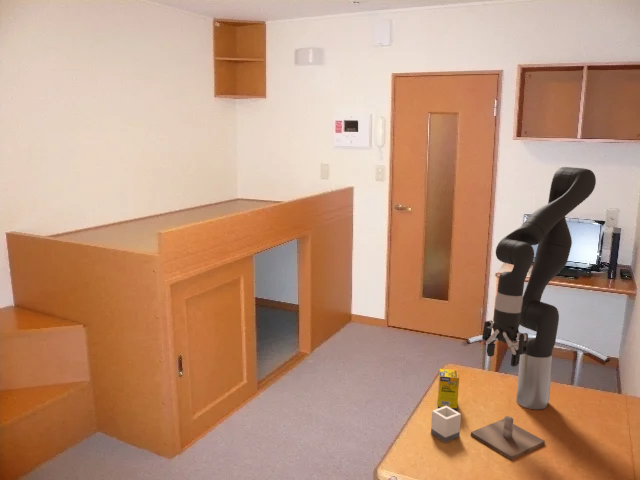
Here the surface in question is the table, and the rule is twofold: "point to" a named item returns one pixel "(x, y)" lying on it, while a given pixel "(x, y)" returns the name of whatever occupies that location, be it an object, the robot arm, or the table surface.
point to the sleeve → (445, 423)
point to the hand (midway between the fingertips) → (501, 360)
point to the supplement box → (448, 388)
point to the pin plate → (507, 438)
